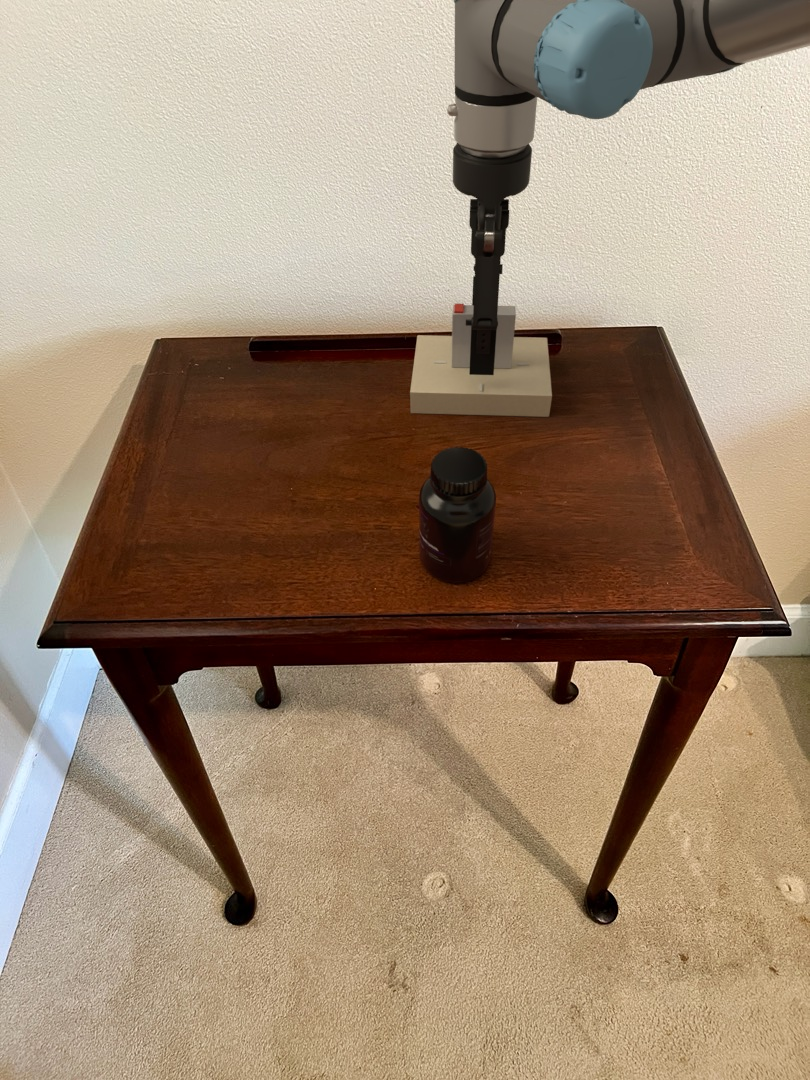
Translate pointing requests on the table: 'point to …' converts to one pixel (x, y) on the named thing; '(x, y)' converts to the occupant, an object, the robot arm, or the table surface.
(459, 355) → the tap lever
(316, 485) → the table surface
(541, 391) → the sink deck
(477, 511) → the supplement bottle
